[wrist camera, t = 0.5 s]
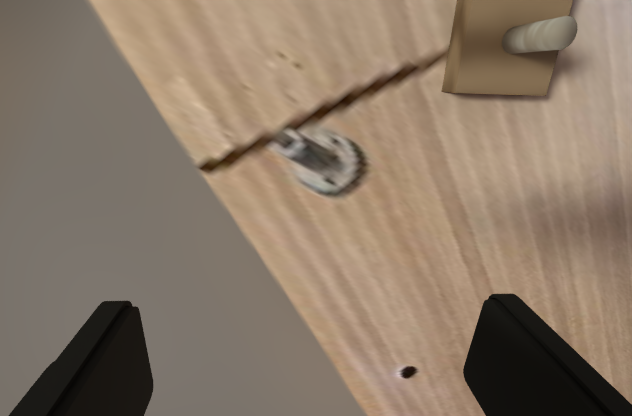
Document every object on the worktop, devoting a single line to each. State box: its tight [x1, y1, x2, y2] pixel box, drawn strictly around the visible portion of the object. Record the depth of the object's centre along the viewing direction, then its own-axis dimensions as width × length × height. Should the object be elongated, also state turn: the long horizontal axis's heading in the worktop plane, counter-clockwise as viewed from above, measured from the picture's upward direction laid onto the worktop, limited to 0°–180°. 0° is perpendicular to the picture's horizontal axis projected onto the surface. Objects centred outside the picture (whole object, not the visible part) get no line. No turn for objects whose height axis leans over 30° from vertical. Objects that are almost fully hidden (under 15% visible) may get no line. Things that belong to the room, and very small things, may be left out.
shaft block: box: [442, 0, 577, 96], centre depth 30 cm, size 10×10×9 cm
